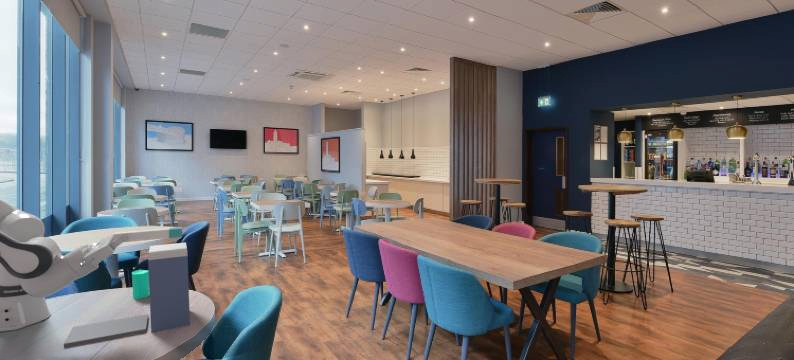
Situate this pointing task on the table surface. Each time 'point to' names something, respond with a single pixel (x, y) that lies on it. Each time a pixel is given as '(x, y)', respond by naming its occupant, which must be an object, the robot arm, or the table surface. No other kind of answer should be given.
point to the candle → (140, 284)
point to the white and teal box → (150, 234)
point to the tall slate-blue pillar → (168, 286)
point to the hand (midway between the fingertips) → (127, 235)
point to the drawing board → (106, 330)
